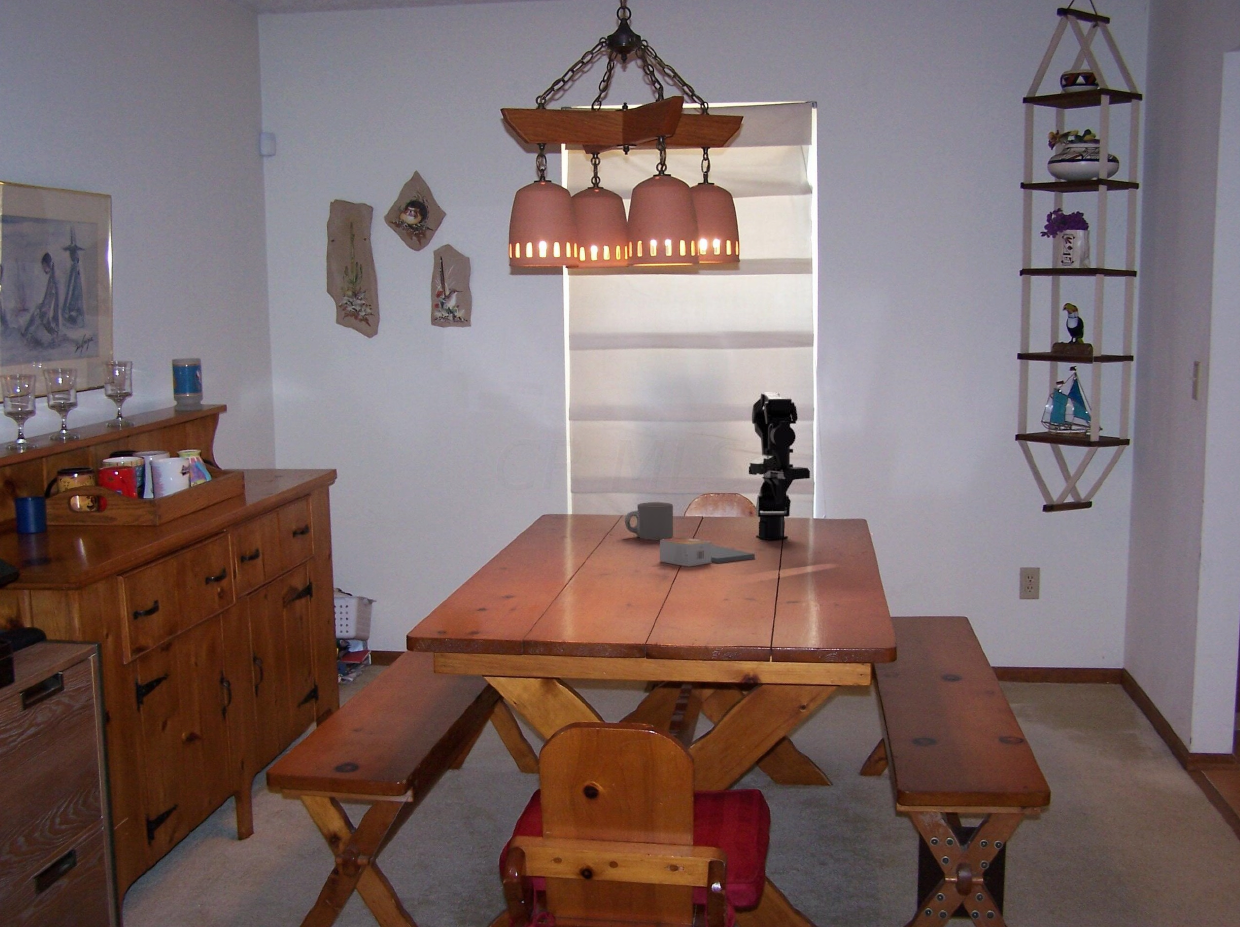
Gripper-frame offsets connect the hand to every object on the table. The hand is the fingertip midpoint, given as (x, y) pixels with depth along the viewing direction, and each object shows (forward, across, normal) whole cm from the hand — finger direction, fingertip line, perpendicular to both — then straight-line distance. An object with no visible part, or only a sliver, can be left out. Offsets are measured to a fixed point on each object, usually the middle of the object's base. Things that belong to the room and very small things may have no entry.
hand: (778, 503), depth 309 cm
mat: (+12, 0, -22) cm, 25 cm away
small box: (+9, +9, -32) cm, 35 cm away
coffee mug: (+12, -32, -20) cm, 40 cm away
